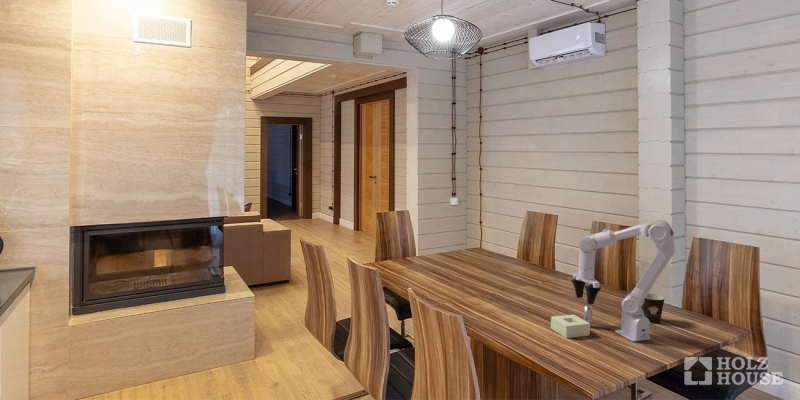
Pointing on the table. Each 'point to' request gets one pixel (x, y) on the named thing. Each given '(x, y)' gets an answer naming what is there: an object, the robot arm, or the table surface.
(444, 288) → the table surface
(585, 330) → the bore block
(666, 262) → the robot arm
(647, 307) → the coffee mug
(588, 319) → the pin
